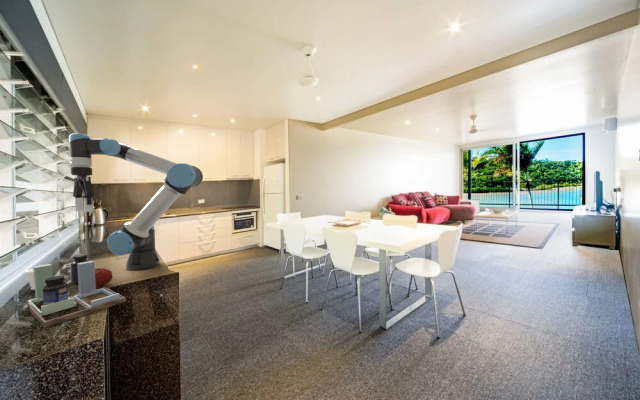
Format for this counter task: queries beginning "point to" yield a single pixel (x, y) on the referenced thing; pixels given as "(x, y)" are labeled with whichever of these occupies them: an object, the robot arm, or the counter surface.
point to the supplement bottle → (74, 266)
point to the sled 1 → (39, 279)
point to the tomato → (102, 276)
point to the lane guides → (76, 314)
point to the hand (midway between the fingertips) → (84, 211)
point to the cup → (31, 278)
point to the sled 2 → (91, 285)
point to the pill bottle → (55, 290)
